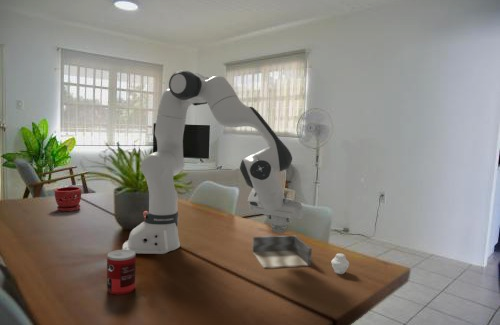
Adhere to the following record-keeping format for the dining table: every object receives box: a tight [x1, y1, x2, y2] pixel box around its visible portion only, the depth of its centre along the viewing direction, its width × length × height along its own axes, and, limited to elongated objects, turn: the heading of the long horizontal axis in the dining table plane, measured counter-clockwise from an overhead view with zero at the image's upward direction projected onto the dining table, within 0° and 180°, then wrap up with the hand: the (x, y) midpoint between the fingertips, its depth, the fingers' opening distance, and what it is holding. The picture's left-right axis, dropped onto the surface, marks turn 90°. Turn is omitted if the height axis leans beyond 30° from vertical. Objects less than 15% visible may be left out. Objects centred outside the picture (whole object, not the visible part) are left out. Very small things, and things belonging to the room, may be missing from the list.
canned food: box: [106, 248, 137, 296], centre depth 103 cm, size 8×8×11 cm
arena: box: [252, 234, 313, 270], centre depth 134 cm, size 18×16×7 cm
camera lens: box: [270, 215, 289, 234], centre depth 131 cm, size 6×6×8 cm
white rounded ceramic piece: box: [331, 253, 350, 275], centre depth 123 cm, size 6×6×7 cm
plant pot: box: [54, 186, 82, 212], centre depth 194 cm, size 13×13×12 cm
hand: (280, 219), depth 132 cm, fingers closed on camera lens, 6 cm apart
